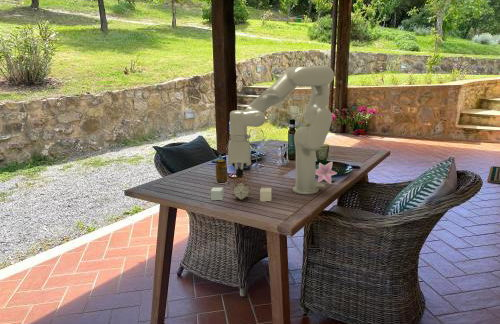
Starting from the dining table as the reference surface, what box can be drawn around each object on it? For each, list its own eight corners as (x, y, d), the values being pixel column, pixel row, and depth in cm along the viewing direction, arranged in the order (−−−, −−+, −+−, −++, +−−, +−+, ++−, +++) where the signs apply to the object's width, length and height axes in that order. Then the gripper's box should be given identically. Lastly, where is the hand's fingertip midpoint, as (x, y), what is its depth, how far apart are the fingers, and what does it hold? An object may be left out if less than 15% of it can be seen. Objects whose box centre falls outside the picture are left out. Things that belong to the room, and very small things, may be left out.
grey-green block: (223, 197, 188) (223, 187, 187) (221, 201, 183) (221, 191, 182) (213, 197, 189) (212, 187, 187) (211, 201, 184) (210, 191, 183)
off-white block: (271, 197, 185) (271, 187, 184) (271, 201, 181) (270, 191, 179) (261, 197, 186) (260, 187, 185) (260, 201, 181) (259, 191, 180)
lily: (308, 181, 210) (309, 169, 204) (321, 169, 216) (322, 156, 209) (327, 192, 204) (328, 179, 197) (340, 179, 210) (341, 166, 203)
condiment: (227, 179, 215) (226, 158, 212) (230, 184, 207) (229, 162, 204) (214, 181, 213) (212, 159, 210) (216, 185, 205) (215, 163, 202)
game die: (240, 205, 187) (240, 185, 191) (254, 201, 183) (254, 181, 186) (228, 201, 181) (228, 180, 185) (242, 197, 176) (242, 176, 180)
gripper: (256, 136, 180) (256, 174, 184) (223, 136, 181) (225, 174, 186) (254, 139, 172) (255, 179, 177) (220, 139, 174) (222, 179, 179)
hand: (239, 176), depth 182 cm, fingers closed
